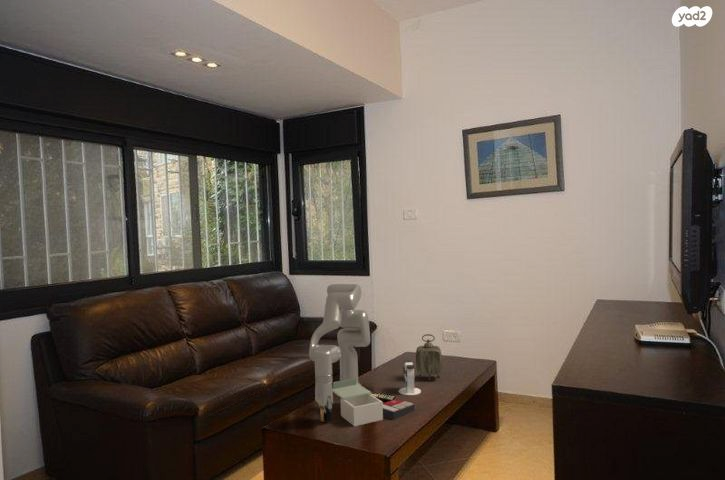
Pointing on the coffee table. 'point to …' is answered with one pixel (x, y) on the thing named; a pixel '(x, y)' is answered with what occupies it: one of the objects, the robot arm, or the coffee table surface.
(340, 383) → the lid
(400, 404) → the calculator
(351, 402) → the box
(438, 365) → the tabletop clock
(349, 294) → the robot arm
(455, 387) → the coffee table surface
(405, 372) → the white pedestal stand
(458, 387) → the coffee table surface
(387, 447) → the coffee table surface
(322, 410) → the tan cylinder
